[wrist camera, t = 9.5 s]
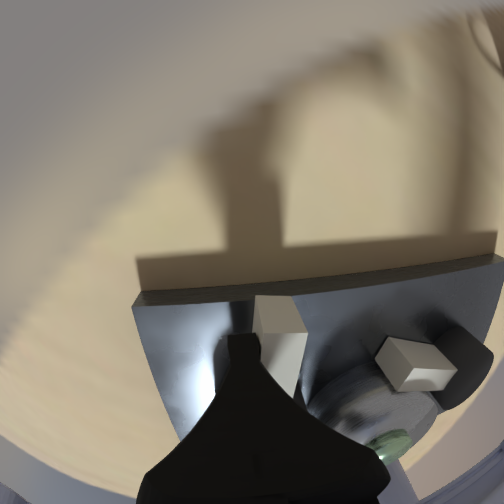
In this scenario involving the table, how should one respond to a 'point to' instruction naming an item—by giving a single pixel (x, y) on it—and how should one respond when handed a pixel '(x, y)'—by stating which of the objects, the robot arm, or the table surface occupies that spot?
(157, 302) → the plate
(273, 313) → the knob
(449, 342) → the knob
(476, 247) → the table surface
